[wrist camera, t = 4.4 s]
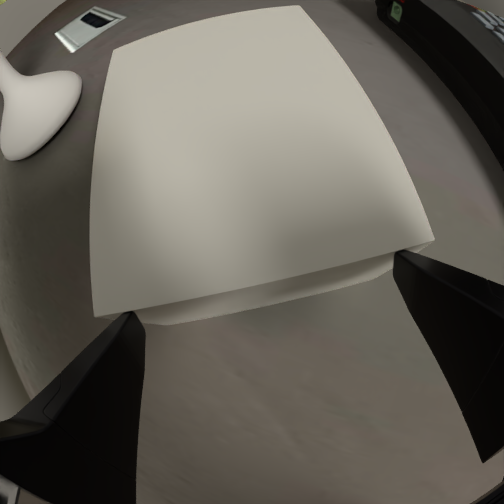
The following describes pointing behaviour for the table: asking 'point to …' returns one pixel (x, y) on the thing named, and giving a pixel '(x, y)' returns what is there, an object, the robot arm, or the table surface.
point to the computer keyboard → (458, 55)
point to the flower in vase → (34, 107)
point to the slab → (240, 173)
